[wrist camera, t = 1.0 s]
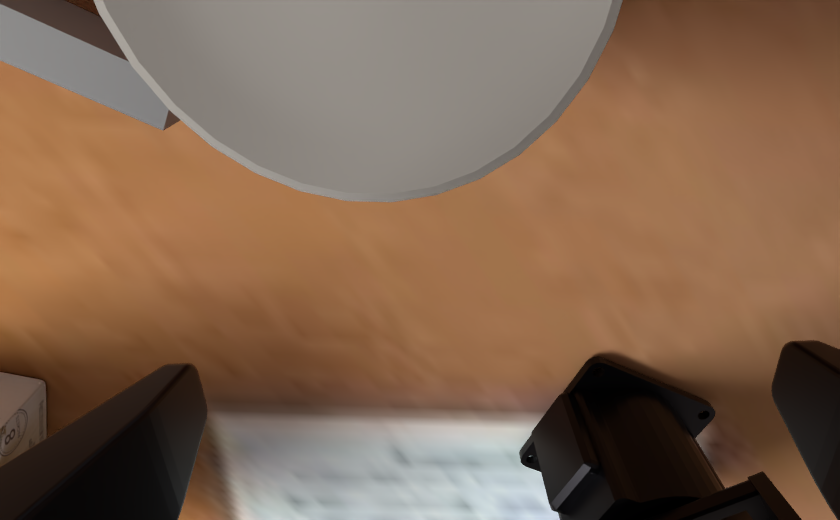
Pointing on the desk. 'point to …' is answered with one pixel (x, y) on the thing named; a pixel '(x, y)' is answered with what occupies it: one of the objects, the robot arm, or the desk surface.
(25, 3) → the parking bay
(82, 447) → the robot arm
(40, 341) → the desk surface
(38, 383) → the coffee box
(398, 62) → the canned food
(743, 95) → the desk surface
